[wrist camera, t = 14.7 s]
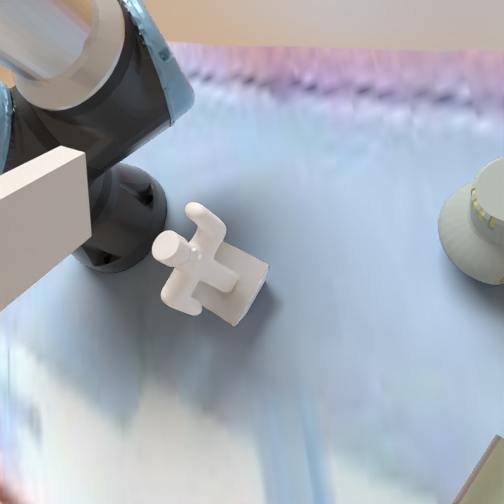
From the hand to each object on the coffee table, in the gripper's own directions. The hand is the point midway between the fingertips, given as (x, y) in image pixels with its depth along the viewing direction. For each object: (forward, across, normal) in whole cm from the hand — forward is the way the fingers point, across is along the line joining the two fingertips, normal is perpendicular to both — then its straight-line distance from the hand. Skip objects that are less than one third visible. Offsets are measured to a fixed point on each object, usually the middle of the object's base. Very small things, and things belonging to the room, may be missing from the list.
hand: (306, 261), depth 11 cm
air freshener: (+30, +16, -12) cm, 36 cm away
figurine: (+28, -7, -26) cm, 38 cm away
